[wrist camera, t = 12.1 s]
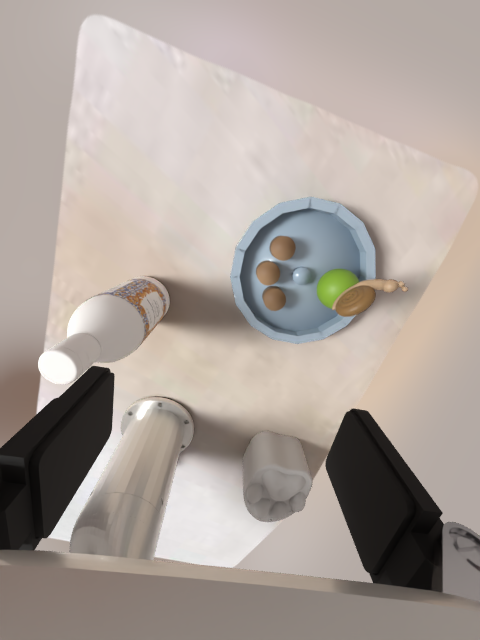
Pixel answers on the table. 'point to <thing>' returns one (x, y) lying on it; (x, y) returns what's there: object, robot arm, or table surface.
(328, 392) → the table surface
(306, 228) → the tray
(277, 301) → the bead
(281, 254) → the bead
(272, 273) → the bead
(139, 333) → the bath foam
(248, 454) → the lumpy-topped squat cylinder
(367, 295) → the snail figurine
